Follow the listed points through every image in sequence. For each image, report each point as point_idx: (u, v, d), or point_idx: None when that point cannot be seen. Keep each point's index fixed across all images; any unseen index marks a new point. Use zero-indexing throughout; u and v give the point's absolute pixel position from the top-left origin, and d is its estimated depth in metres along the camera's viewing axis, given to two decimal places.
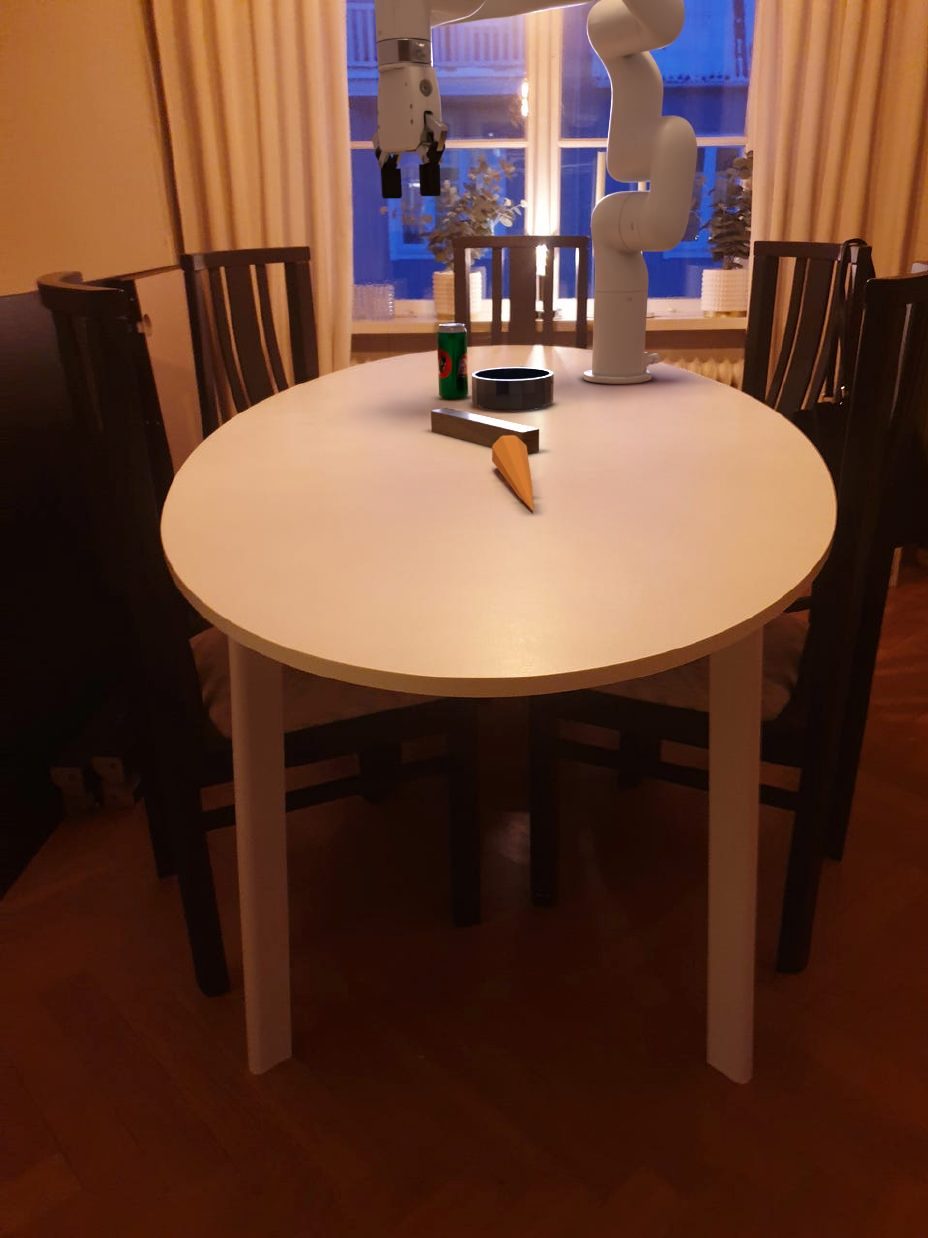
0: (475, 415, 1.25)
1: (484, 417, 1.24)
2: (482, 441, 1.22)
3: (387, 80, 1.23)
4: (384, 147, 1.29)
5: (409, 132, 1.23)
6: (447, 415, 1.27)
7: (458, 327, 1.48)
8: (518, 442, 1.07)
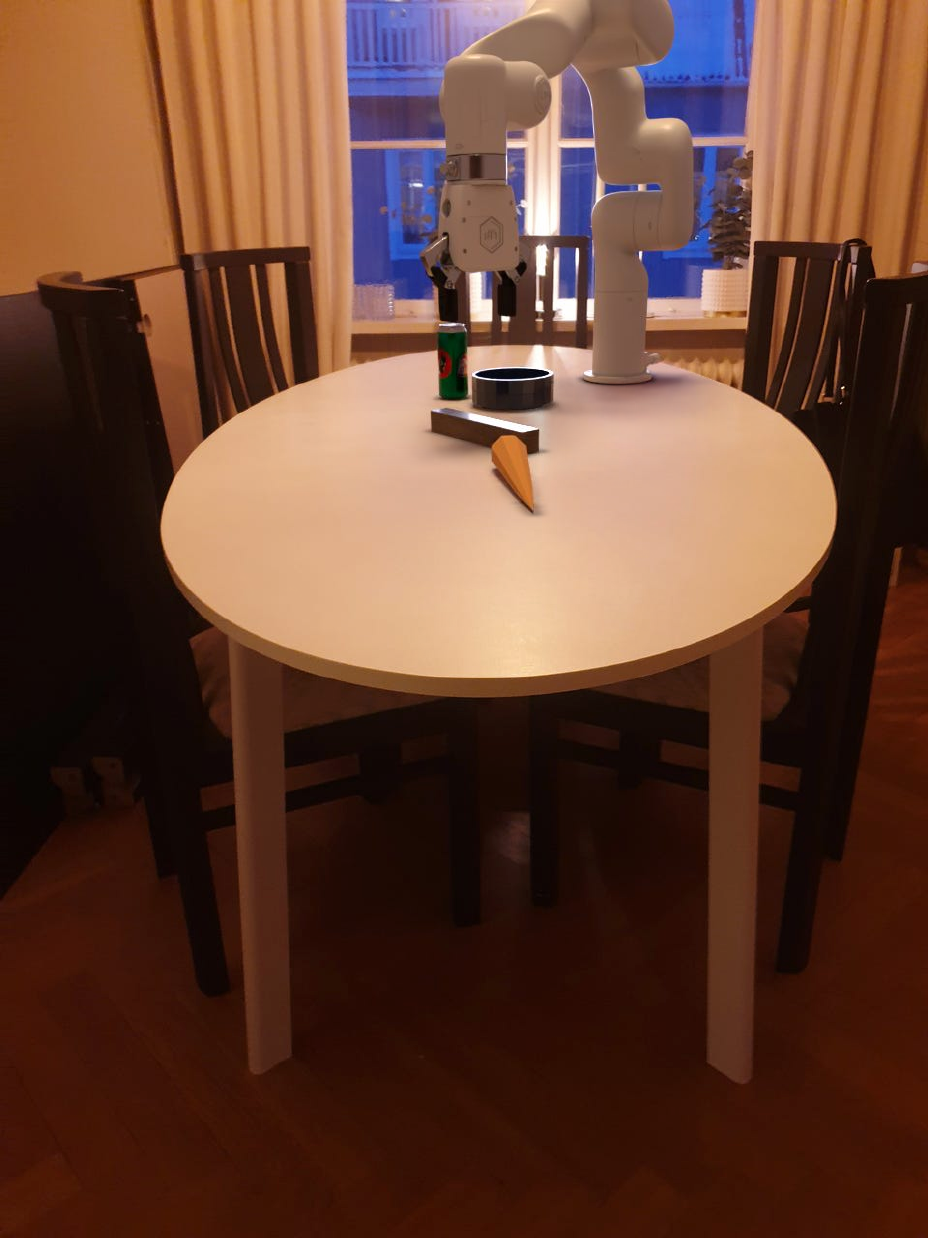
0: (475, 415, 1.25)
1: (484, 417, 1.24)
2: (482, 441, 1.22)
3: None
4: None
5: None
6: (447, 415, 1.27)
7: (458, 327, 1.48)
8: (518, 442, 1.07)
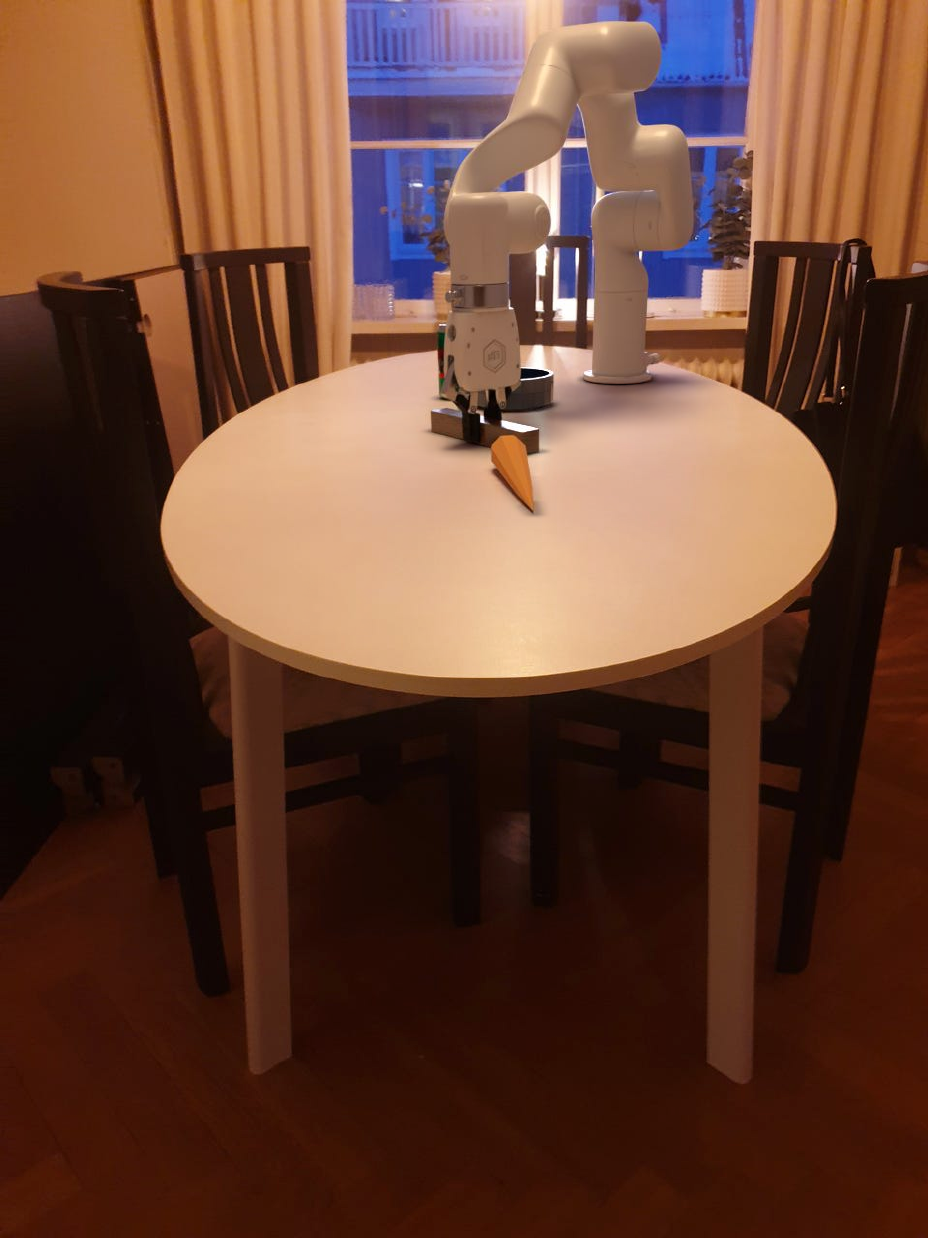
0: None
1: (484, 417, 1.24)
2: (482, 441, 1.22)
3: None
4: None
5: None
6: (447, 415, 1.27)
7: None
8: (517, 442, 1.07)
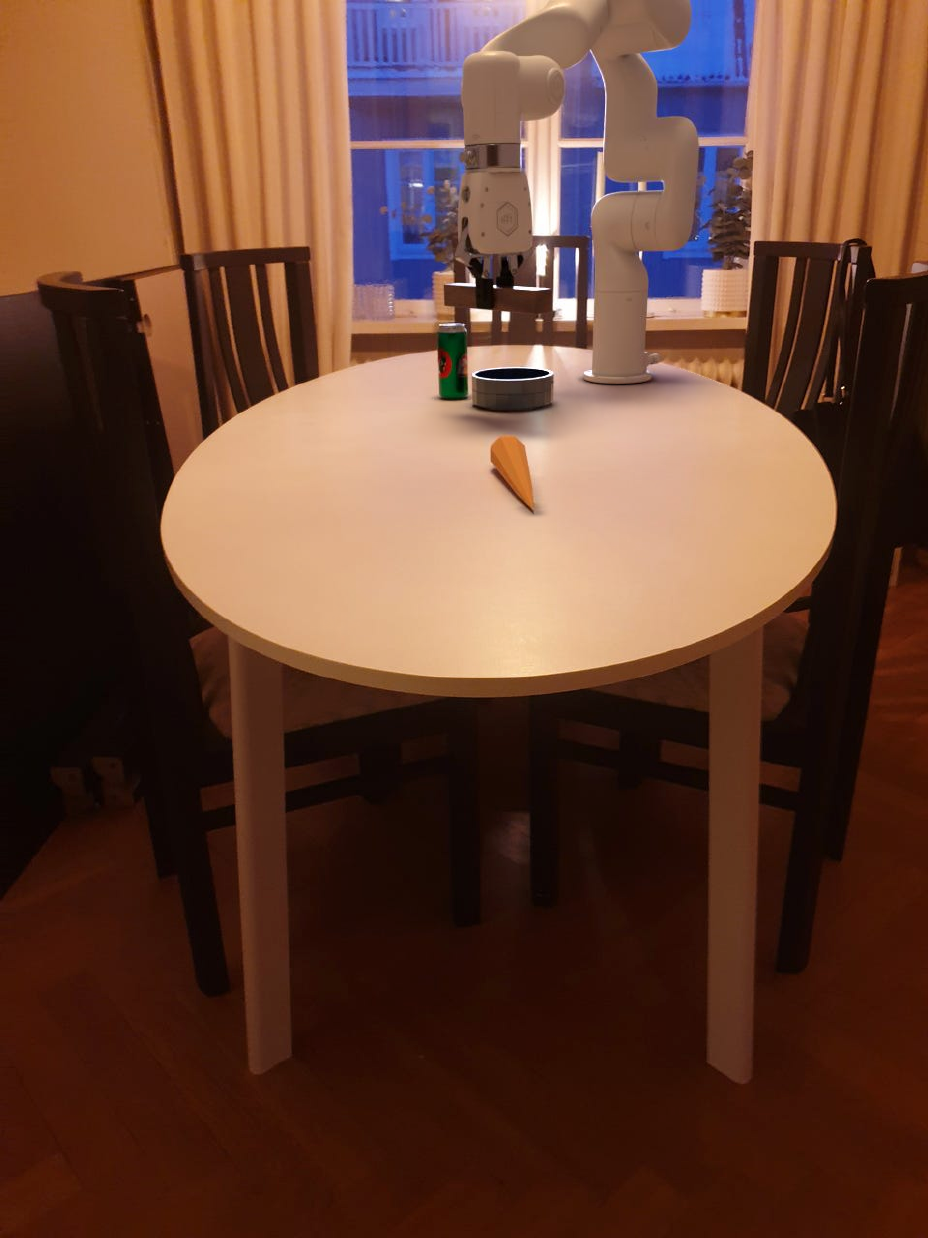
0: None
1: (496, 285, 1.27)
2: (495, 307, 1.25)
3: None
4: None
5: None
6: (460, 286, 1.29)
7: (458, 327, 1.48)
8: (516, 442, 1.07)
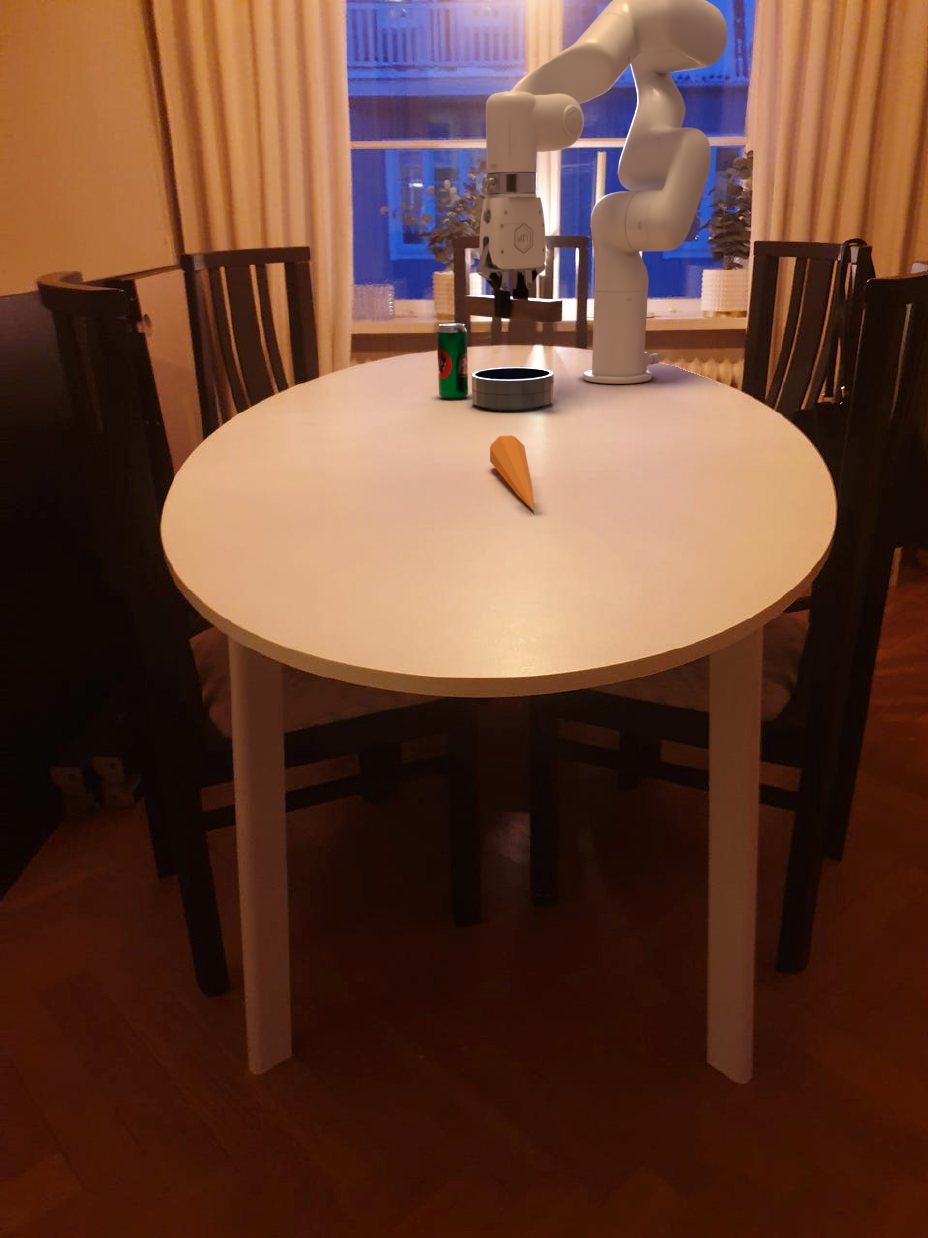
0: None
1: (513, 297, 1.42)
2: (511, 316, 1.40)
3: None
4: None
5: None
6: (480, 297, 1.44)
7: (458, 327, 1.48)
8: (516, 442, 1.07)
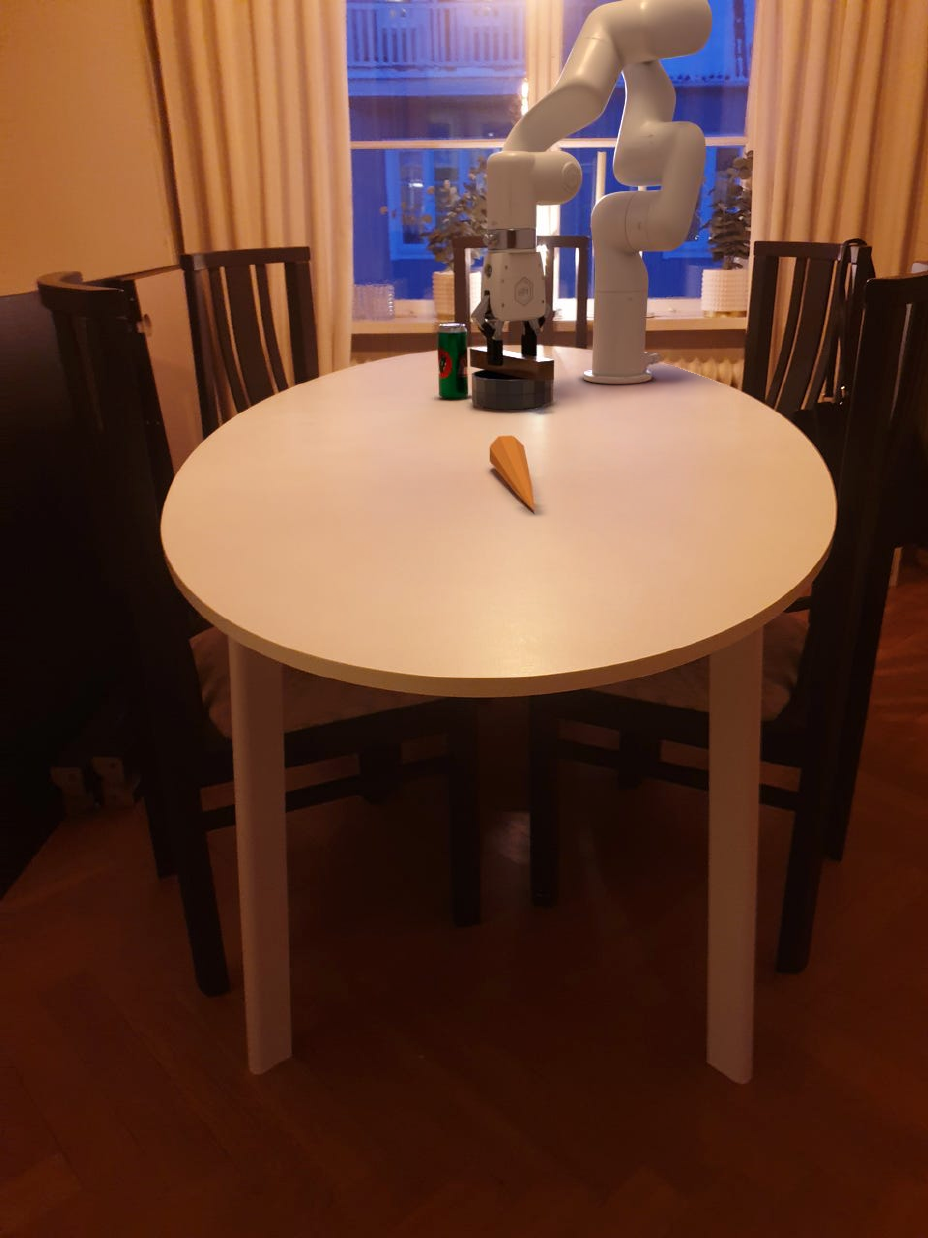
0: (505, 351, 1.48)
1: (512, 352, 1.46)
2: (508, 372, 1.44)
3: None
4: None
5: None
6: (482, 351, 1.49)
7: (458, 327, 1.48)
8: (516, 442, 1.07)
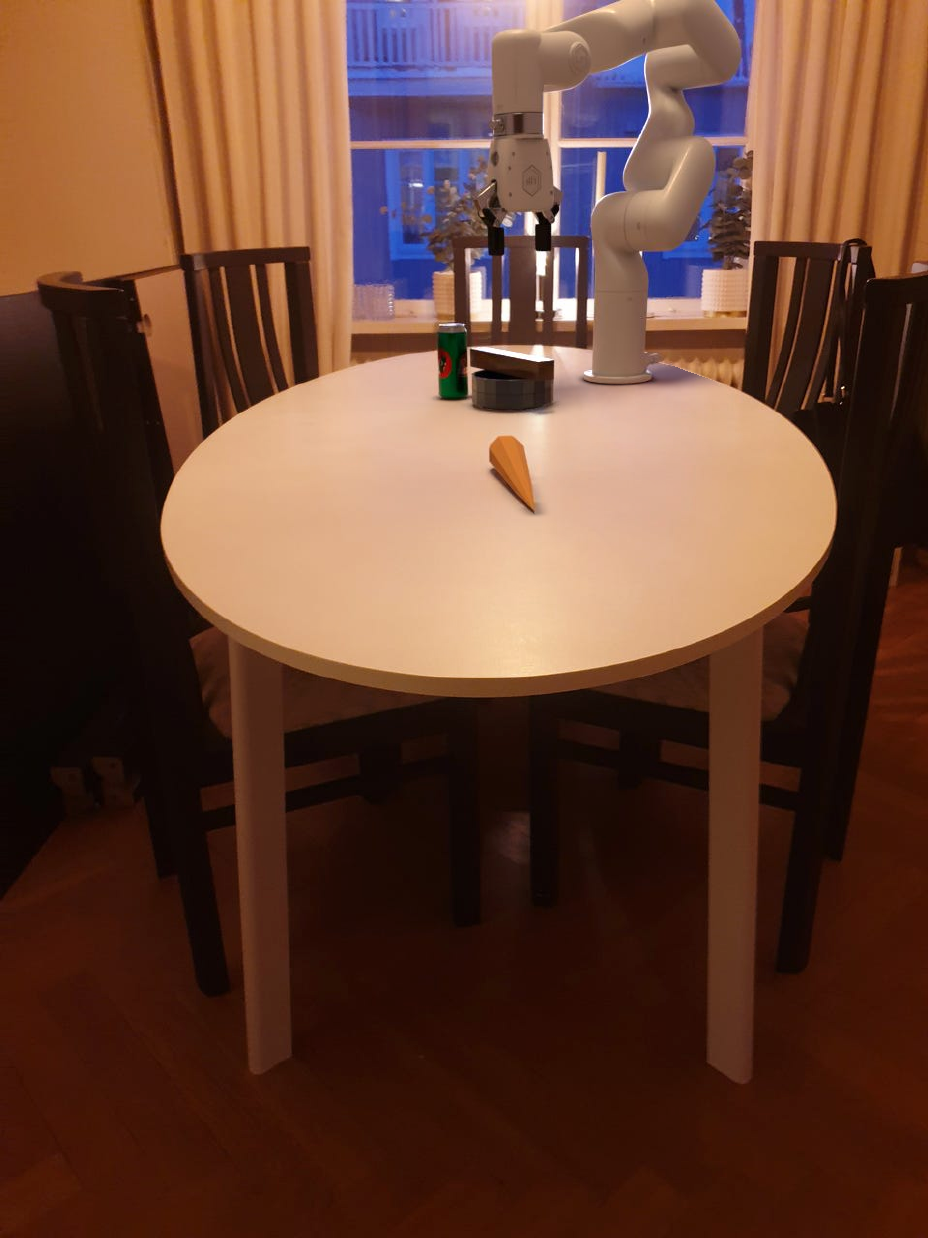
0: (505, 351, 1.48)
1: (512, 352, 1.46)
2: (508, 372, 1.44)
3: None
4: None
5: None
6: (482, 351, 1.49)
7: (458, 327, 1.48)
8: (515, 442, 1.07)
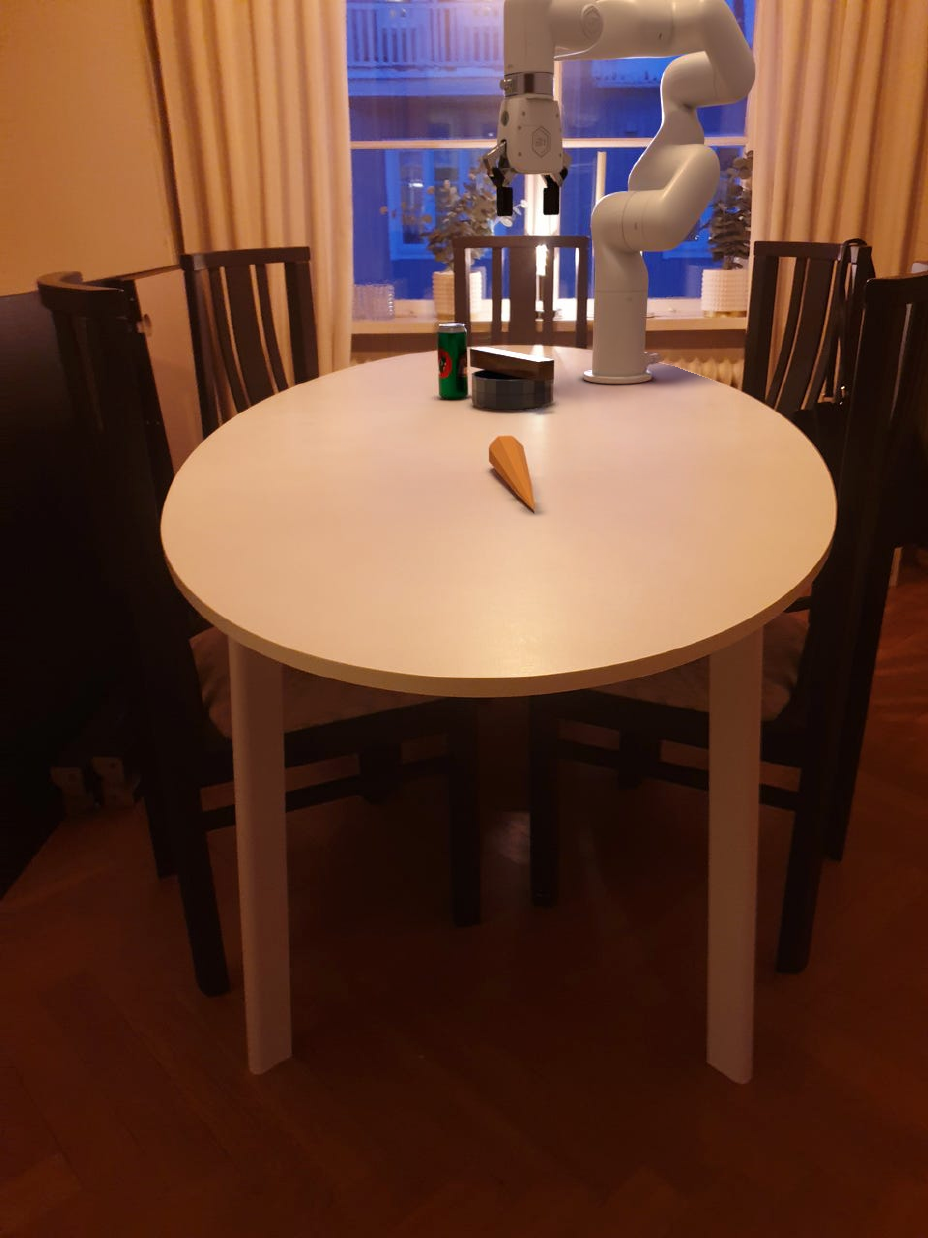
0: (505, 351, 1.48)
1: (512, 352, 1.46)
2: (508, 372, 1.44)
3: None
4: None
5: None
6: (482, 351, 1.49)
7: (458, 327, 1.48)
8: (515, 442, 1.07)
